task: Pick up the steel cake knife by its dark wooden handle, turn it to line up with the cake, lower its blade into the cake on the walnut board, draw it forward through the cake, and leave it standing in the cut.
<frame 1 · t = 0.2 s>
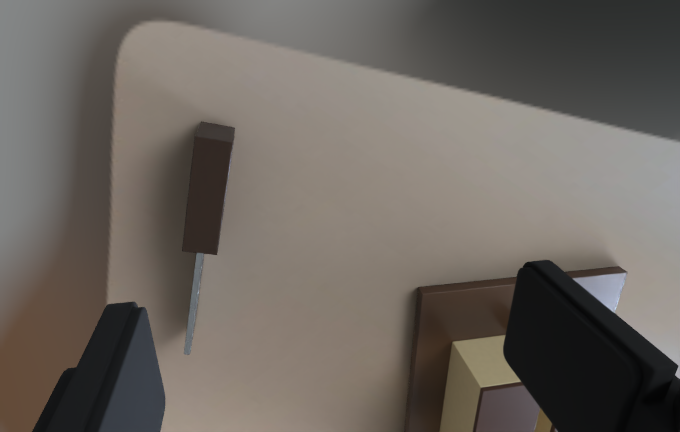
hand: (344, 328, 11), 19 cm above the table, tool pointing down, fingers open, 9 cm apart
cake: (521, 418, 38), on the cake board, point 4 cm above the table
knife: (203, 234, 30), on the table
cake board: (499, 385, 41), on the table
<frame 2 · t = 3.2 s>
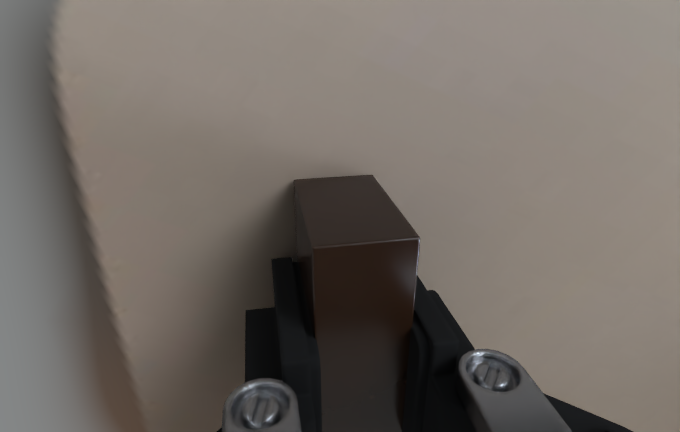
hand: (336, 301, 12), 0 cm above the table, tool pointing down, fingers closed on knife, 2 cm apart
knife: (334, 399, 14), on the table, touching gripper
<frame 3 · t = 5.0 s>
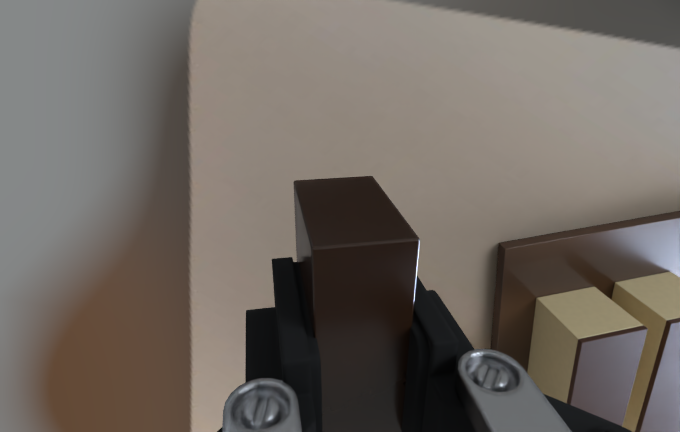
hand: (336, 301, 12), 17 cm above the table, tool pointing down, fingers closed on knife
cake: (613, 373, 37), on the cake board, point 4 cm above the table
knife: (334, 400, 14), point 17 cm above the table, touching gripper
cake board: (583, 343, 40), on the table
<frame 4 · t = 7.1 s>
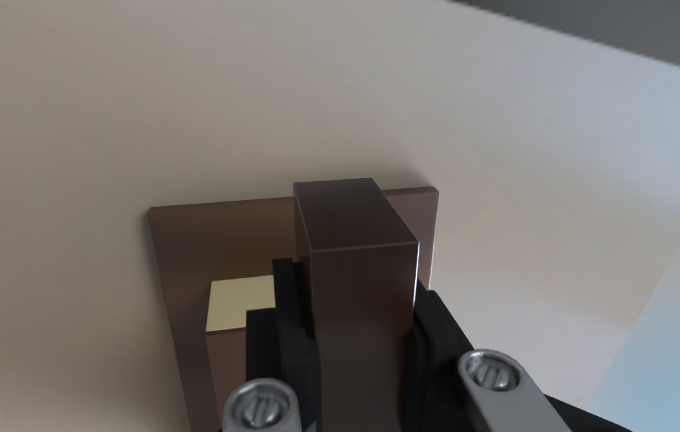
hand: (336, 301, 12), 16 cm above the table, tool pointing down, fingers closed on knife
cake: (312, 380, 30), on the cake board, point 4 cm above the table
knife: (334, 401, 14), point 16 cm above the table, touching gripper
cake board: (306, 343, 33), on the table
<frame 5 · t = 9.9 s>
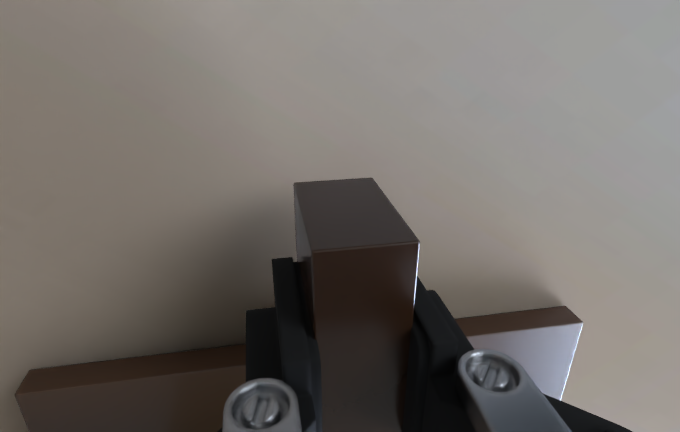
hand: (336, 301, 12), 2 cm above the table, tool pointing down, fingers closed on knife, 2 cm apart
knife: (334, 401, 14), point 2 cm above the table, touching gripper
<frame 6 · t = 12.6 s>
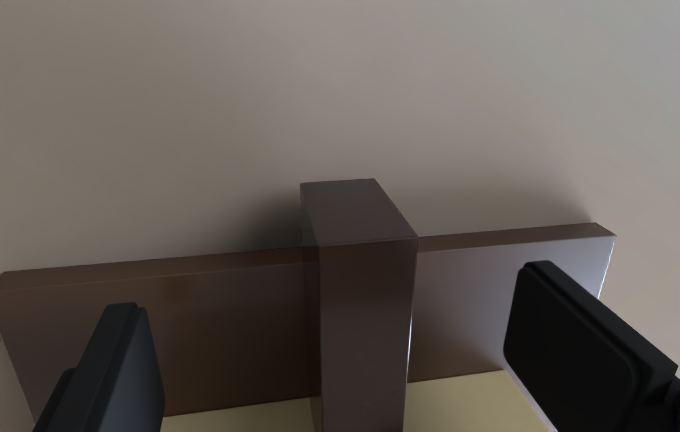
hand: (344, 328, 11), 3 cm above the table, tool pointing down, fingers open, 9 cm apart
knife: (338, 394, 15), point 1 cm above the table, touching cake board
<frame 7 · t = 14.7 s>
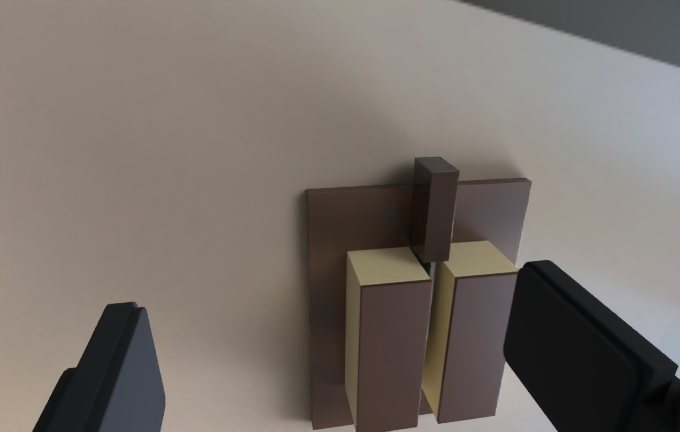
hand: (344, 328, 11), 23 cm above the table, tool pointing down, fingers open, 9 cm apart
cake: (423, 336, 36), on the cake board, point 4 cm above the table
knife: (419, 246, 36), point 1 cm above the table, touching cake board
cake board: (409, 309, 40), on the table
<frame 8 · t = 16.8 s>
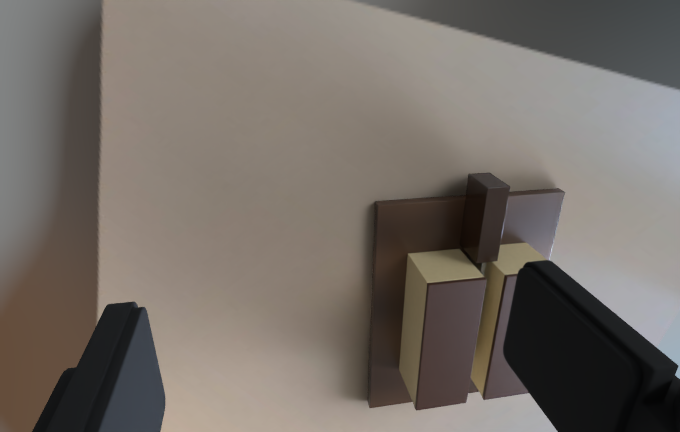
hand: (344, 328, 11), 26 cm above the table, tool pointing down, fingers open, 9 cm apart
cake: (471, 325, 43), on the cake board, point 4 cm above the table
knife: (468, 248, 42), point 1 cm above the table, touching cake board
cake board: (455, 302, 46), on the table
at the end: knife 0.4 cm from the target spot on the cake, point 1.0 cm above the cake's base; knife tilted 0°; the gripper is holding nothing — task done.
